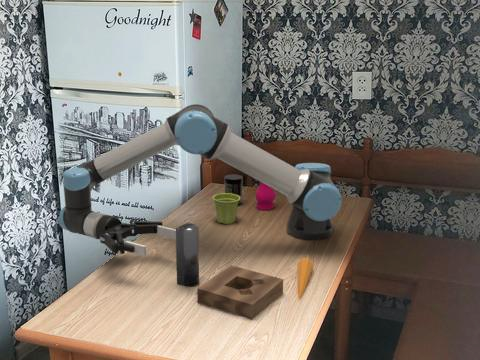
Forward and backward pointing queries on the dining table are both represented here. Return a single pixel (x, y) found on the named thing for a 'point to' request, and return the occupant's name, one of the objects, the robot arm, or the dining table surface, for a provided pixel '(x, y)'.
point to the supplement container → (234, 185)
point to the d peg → (187, 254)
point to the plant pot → (226, 207)
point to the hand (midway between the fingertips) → (161, 242)
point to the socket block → (240, 291)
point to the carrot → (303, 274)
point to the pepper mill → (265, 197)
